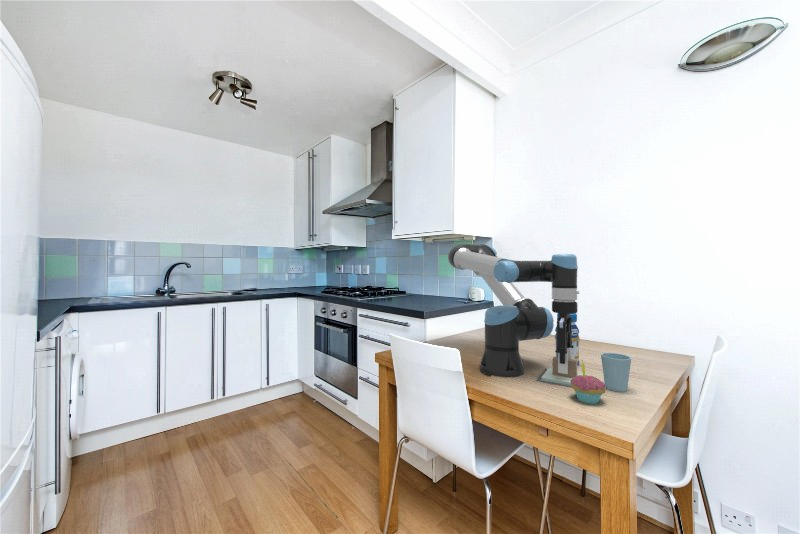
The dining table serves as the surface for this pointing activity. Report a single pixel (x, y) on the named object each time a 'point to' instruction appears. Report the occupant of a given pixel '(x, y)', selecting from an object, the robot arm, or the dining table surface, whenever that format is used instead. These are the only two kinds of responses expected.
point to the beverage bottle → (574, 338)
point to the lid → (561, 378)
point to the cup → (616, 371)
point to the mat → (549, 382)
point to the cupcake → (587, 387)
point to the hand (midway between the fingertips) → (564, 369)
